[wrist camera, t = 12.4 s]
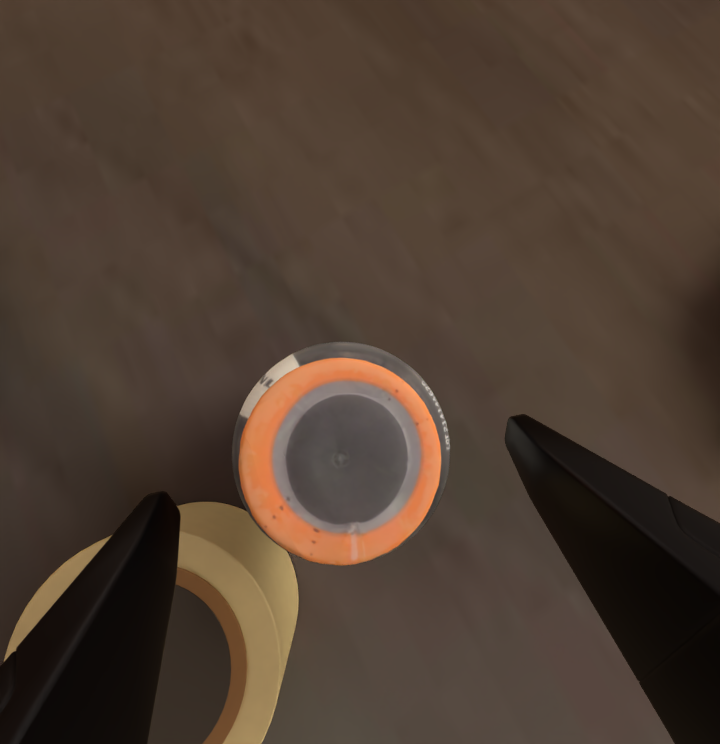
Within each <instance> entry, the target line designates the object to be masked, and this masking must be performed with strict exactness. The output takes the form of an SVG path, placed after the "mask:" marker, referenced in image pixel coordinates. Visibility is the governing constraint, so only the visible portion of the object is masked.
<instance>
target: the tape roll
mask: <svg viewBox="0 0 720 744" xmlns="http://www.w3.org/2000/svg"><path fill="white" fill-rule="evenodd" d="M177 507H178V509H179V511H180V515H181V521H180V536H179V552H178V567H177V578H176V585H175V591H174V597H173V602H172V608H171V614H170V619H169V625H168V631H167V636H166V642H165V648H164V653H163V659H162V665H161V670H160V676H159V682H158V687H157V693H156V699H155V704H154V710H153V716H152V721H151V727H150V733H149V738H148V744H261V743H262V742H263V740H264V737H265V735H266V733H267V730H268V728H269V725H270V723H271V720H272V717H273V714H274V710H275V707H276V703H277V700H278V696H279V691H280V687H281V683H282V679H283V675H284V671H285V667H286V663H287V659H288V655H289V651H290V647H291V643H292V639H293V635H294V631H295V627H296V621H297V615H298V602H299V597H298V585H297V580H296V575H295V571H294V568H293V565H292V562H291V559H290V557H289V555H288V553H287V551H286V550H285V549H283V548H282V547H280V546H279V545H277V544H276V543H274V542H273V541H272V540H271V539H270V538H268V537H267V536H266V535H265V534H264V533H263V532H262V531H261V530H260V529H259V527H258V526H257V525H256V523H255V522H254V521H253V520H252V518H251V517H250V515H249V513H248V512H247V511H245V510H243V509H240V508H238V507H235V506H232V505H228V504H224V503H217V502H194V503H187V504H183V505H179V506H177ZM111 536H112V535H111ZM111 536H109V537H107V538H105V539H103V540H101V541H98V542H97V543H95V544H93V545H91V546H89V547H87V548H85V549H84V550H82V551H80V552H79V553H77V554H76V555H75V556H73V557H72V558H70V559H69V560H67V561H66V562H65V563H64V564H63V565H62V566H60V567H59V568H58V569H57V570H56V571H55V572H54V573H53V574H51V576H50V577H49V578H48V579H47V580H46V581H45V582H44V583H43V585H42V586H41V587H40V588H39V589H38V590H37V592H36V593H35V595H34V596H33V598H32V599H31V600H30V602H29V603H28V605H27V606H26V608H25V610H24V611H23V613H22V615H21V617H20V619H19V621H18V622H17V624H16V627H15V629H14V632H13V634H12V637H11V639H10V641H9V644H8V648H7V652H6V655H5V659H4V661H5V660H6V659H7V658H8V657H9V656H10V654H11V653H12V652H14V651H16V648H17V646H18V645H19V644H20V643H21V642H22V640H23V639H24V638H25V637H26V636H27V635H28V633H29V632H30V631H31V630H32V629H33V628H34V626H35V625H36V624H37V623H38V622H39V621H40V619H41V618H42V617H43V616H44V615H45V614H46V612H47V611H48V610H49V609H50V608H51V606H52V605H53V604H54V603H55V602H56V601H57V599H58V598H59V597H60V596H61V595H62V594H63V592H64V591H65V590H66V589H67V588H68V587H69V585H70V584H71V583H72V582H73V581H74V580H75V578H76V577H77V576H78V575H79V574H80V572H81V571H82V570H83V569H84V568H85V567H86V565H87V564H88V563H89V562H90V561H91V560H92V558H93V557H94V556H95V555H96V554H97V553H98V551H99V550H100V549H101V548H102V547H103V546H104V544H105V543H106V542H107V541H108V540H109V538H110V537H111ZM3 663H4V662H3Z"/></svg>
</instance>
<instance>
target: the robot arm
mask: <svg viewBox="0 0 720 744" xmlns="http://www.w3.org/2000/svg"><path fill="white" fill-rule="evenodd" d="M505 444H506V447H507V449H508V451H509V453H510V455H511V458H512V460H513V462H514V464H515V466H516V469H517V471H518V473H519V475H520V478H521V480H522V482H523V484H524V486H525V489H526V491H527V493H528V495H529V497H530V499H531V500H532V502H533V504H534V506H535V507H536V509H537V511H538V512H539V514H540V516H541V518H542V519H543V521H544V523H545V524H546V526H547V528H548V529H549V531H550V533H551V534H552V536H553V538H554V540H555V541H556V543H557V545H558V546H559V548H560V550H561V551H562V553H563V555H564V556H565V558H566V560H567V562H568V563H569V565H570V567H571V568H572V570H573V572H574V573H575V575H576V577H577V578H578V580H579V582H580V583H581V585H582V587H583V589H584V590H585V592H586V594H587V595H588V597H589V599H590V600H591V602H592V604H593V605H594V607H595V609H596V611H597V612H598V614H599V616H600V617H601V619H602V621H603V622H604V624H605V626H606V627H607V629H608V631H609V632H610V634H611V636H612V638H613V639H614V641H615V643H616V644H617V646H618V648H619V649H620V651H621V653H622V654H623V656H624V658H625V660H626V661H627V663H628V665H629V666H630V668H631V670H632V671H633V673H634V675H635V676H636V678H637V680H638V681H640V682H639V683H640V685H641V687H642V689H643V690H644V692H645V694H646V695H647V697H648V699H649V701H650V702H651V704H652V706H653V707H654V709H655V711H656V712H657V714H658V716H659V717H660V719H661V721H662V723H663V724H664V726H665V728H666V729H667V731H668V733H669V734H670V736H671V738H672V739H673V741H674V743H675V744H720V523H718V522H716V521H715V520H713V519H711V518H709V517H707V516H705V515H704V514H702V513H700V512H698V511H696V510H694V509H693V508H691V507H689V506H687V505H685V504H684V503H682V502H680V501H678V500H676V499H675V498H673V497H671V496H667V494H666V493H664V492H662V491H660V490H659V489H657V488H655V487H653V486H651V485H650V484H648V483H646V482H644V481H643V480H641V479H639V478H637V477H636V476H634V475H632V474H630V473H628V472H627V471H625V470H623V469H621V468H620V467H618V466H616V465H614V464H613V463H611V462H609V461H607V460H605V459H604V458H602V457H600V456H598V455H597V454H595V453H593V452H591V451H589V450H588V449H586V448H584V447H582V446H581V445H579V444H577V443H575V442H574V441H572V440H570V439H568V438H566V437H565V436H563V435H561V434H559V433H558V432H556V431H554V430H552V429H551V428H549V427H547V426H545V425H543V424H542V423H540V422H538V421H536V420H535V419H533V418H531V417H529V416H527V415H525V414H521V415H516V416H511V417H510V418H509V419H508V422H507V428H506V434H505ZM180 521H181V515H180V511H179V509H178V507H177V506H176V504H175V503H174V501H173V500H172V499H171V497H170V496H169V495H168V493H167V492H164V491H161V492H156V493H152V494H149V495H147V496H146V497H145V498H144V499H143V500H142V501H141V502H140V503H139V504H138V506H137V507H136V508H135V509H134V510H133V512H132V513H131V514H130V515H129V516H128V517H127V519H126V520H125V521H124V522H123V523H122V524H121V526H120V527H119V528H118V529H117V530H116V531H115V533H114V534H113V535H112V536H111V537H110V538H109V540H108V541H107V542H106V543H105V544H104V546H103V547H102V548H101V549H100V550H99V551H98V553H97V554H96V555H95V556H94V557H93V558H92V560H91V561H90V562H89V563H88V564H87V565H86V567H85V568H84V569H83V570H82V571H81V572H80V574H79V575H78V576H77V577H76V578H75V580H74V581H73V582H72V583H71V584H70V585H69V587H68V588H67V589H66V590H65V591H64V592H63V594H62V595H61V596H60V597H59V598H58V599H57V601H56V602H55V603H54V604H53V605H52V606H51V608H50V609H49V610H48V611H47V612H46V614H45V615H44V616H43V617H42V618H41V619H40V621H39V622H38V623H37V624H36V625H35V626H34V628H33V629H32V630H31V631H30V632H29V633H28V635H27V636H26V637H25V638H24V639H23V640H22V642H21V643H20V644H19V645H18V646H17V648H16V651H14V652H12V653H11V654H10V656H9V657H8V658H7V659H6V660H5V661H4V663H3V664H2V665H1V666H0V744H148V738H149V733H150V727H151V721H152V716H153V710H154V704H155V699H156V693H157V687H158V682H159V676H160V670H161V665H162V659H163V653H164V648H165V642H166V636H167V631H168V625H169V619H170V614H171V608H172V602H173V597H174V591H175V585H176V578H177V567H178V552H179V536H180Z"/></svg>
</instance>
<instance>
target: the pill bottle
mask: <svg viewBox="0 0 720 744" xmlns="http://www.w3.org/2000/svg"><path fill="white" fill-rule="evenodd" d="M449 464H450V441H449V435H448V429H447V425H446V421H445V418H444V415H443V412H442V410H441V407H440V405H439V403H438V401H437V399H436V397H435V395H434V394H433V392H432V391H431V389H430V388H429V386H428V385H427V384H426V382H425V381H424V380H423V379H422V377H421V376H420V375H419V374H418V373H417V372H416V371H415V370H414V369H413V368H411V367H410V366H409V365H408V364H406V363H405V362H403V361H402V360H400V359H399V358H397V357H396V356H394V355H392V354H390V353H388V352H386V351H384V350H381V349H379V348H376V347H373V346H370V345H365V344H362V343H354V342H330V343H322V344H317V345H313V346H310V347H307V348H304V349H301V350H299V351H297V352H295V353H293V354H291V355H289V356H288V357H286V358H285V359H283V360H282V361H280V362H279V363H277V364H276V365H275V366H273V367H272V368H271V369H270V370H269V371H268V372H267V373H266V374H265V375H264V376H263V377H262V378H261V379H260V380H259V381H258V382H257V384H256V385H255V386H254V388H253V389H252V391H251V392H250V393H249V395H248V397H247V399H246V400H245V402H244V405H243V407H242V409H241V411H240V413H239V415H238V418H237V421H236V425H235V430H234V434H233V440H232V467H233V475H234V479H235V484H236V487H237V490H238V493H239V495H240V498H241V500H242V502H243V504H244V506H245V508H246V510H247V512H248V513H249V515H250V517H251V518H252V520H253V521H254V522H255V523H256V525H257V526H258V527H259V529H260V530H261V531H262V532H263V533H264V534H265V535H266V536H267V537H268V538H270V539H271V540H272V541H273V542H274V543H276V544H277V545H279V546H280V547H282V548H283V549H285V550H286V551H288V552H290V553H292V554H294V555H296V556H298V557H300V558H303V559H306V560H308V561H311V562H316V563H321V564H328V565H353V564H359V563H365V562H368V561H371V560H375V559H378V558H380V557H383V556H385V555H387V554H389V553H391V552H393V551H394V550H396V549H398V548H399V547H401V546H402V545H404V544H405V543H406V542H407V541H409V540H410V539H411V538H412V537H413V536H414V535H415V534H417V533H418V532H419V531H420V529H421V528H422V527H423V526H424V525H425V524H426V522H427V521H428V520H429V518H430V517H431V515H432V514H433V512H434V511H435V509H436V507H437V505H438V503H439V500H440V498H441V496H442V493H443V491H444V488H445V485H446V481H447V477H448V471H449Z"/></svg>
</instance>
